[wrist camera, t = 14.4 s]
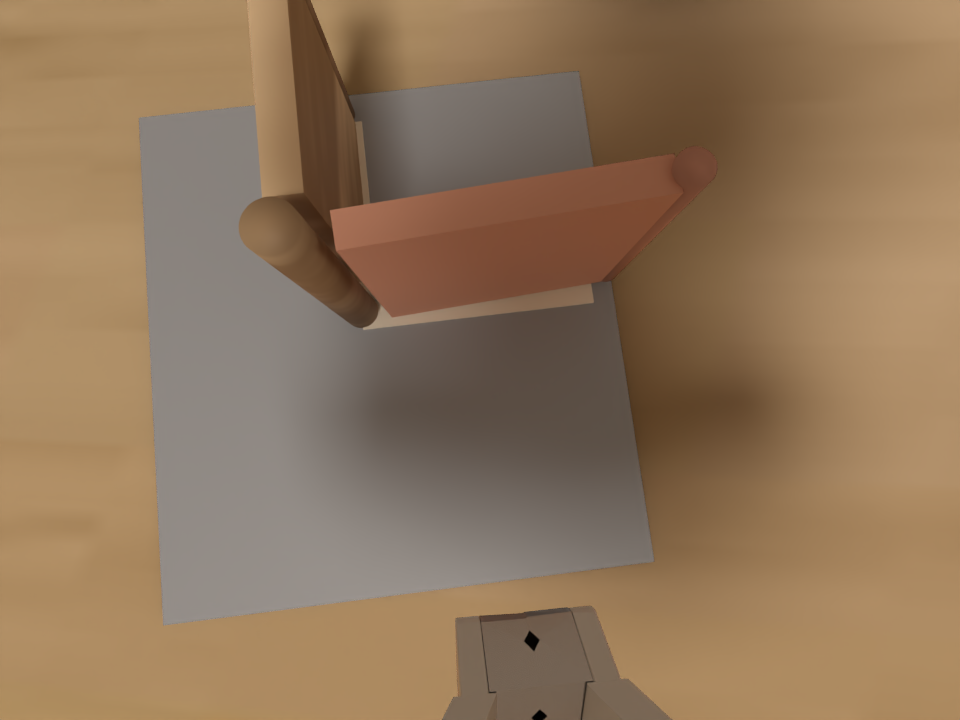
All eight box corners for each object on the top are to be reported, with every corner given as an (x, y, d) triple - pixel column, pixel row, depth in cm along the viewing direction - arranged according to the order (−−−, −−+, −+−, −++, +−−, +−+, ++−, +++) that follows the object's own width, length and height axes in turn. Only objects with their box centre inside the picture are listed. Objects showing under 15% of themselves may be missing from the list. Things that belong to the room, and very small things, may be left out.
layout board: (167, 622, 22) (161, 626, 22) (142, 121, 25) (137, 116, 25) (651, 559, 23) (655, 562, 22) (577, 74, 25) (579, 69, 25)
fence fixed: (348, 330, 24) (240, 258, 13) (327, 109, 25) (213, -128, 14) (381, 327, 24) (302, 251, 13) (359, 105, 25) (269, -134, 14)
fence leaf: (619, 279, 24) (721, 182, 14) (393, 318, 24) (333, 247, 14) (614, 255, 24) (712, 142, 14) (389, 294, 24) (327, 206, 14)
